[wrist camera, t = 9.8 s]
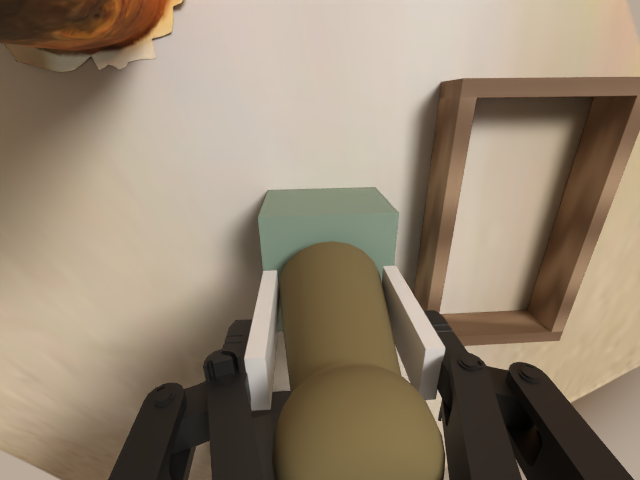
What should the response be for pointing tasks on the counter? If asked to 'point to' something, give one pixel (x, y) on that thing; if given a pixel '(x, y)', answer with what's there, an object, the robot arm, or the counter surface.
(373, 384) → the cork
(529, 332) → the wooden frame
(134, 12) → the vessel
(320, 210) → the stand
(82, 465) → the counter surface
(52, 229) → the counter surface
